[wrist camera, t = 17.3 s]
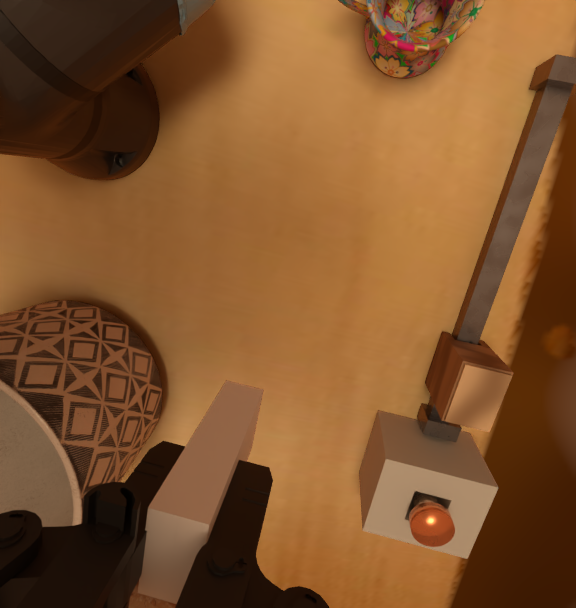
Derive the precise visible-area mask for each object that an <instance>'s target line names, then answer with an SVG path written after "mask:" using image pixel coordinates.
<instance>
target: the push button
mask: <svg viewBox="0 0 576 608" xmlns="http://www.w3.org/2000/svg"><path fill="white" fill-rule="evenodd" d="M412 498H413V502H414V508H413V509H412V510H411V512H410V514H409V523H410V528H411V533H412V535H413V537H414V538H415V540H416V541H418V542H419V543H421V544H423V545H425V546H429V547H438V546H442V545H445V544H447V543H448V542H450V541H451V540H452V538H453V537H454V534H455V526H454V523H453V520H452V517H451V514H450V512H449V511H448V510H447V509H446V508H445V507H444V506H442V505H440V504H438V501H437V498H436V496H433V495H429V494H425V493H421V492H417V491H415V492H414V494H413V497H412Z"/></svg>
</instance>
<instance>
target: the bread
mask: <svg viewBox="0 0 576 608" xmlns="http://www.w3.org/2000/svg"><path fill="white" fill-rule="evenodd" d="M138 586H139V580H138V582H137V584H136V586H135V588H134V590H133V592H132V594H131V596H130V601H129V608H175V607H176V604H174V603H171V602H167V601H164V600H161V599H157V598H154V597H150V596H147V595H143V594H140V593H138Z"/></svg>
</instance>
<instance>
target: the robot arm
mask: <svg viewBox="0 0 576 608" xmlns="http://www.w3.org/2000/svg"><path fill="white" fill-rule="evenodd" d="M215 1H216V0H0V154H5V155H14V156H24V157H34V158H45V159H47V160H48V161H50V162H52V163H53V164H55V165H57V166H58V167H60V168H62V169H63V170H65V171H67V172H69V173H71V174H73V175H76V176H79V177H82V178H87V179H95V180H112V179H117V178H121V177H124V176H126V175H128V174H130V173H132V172H133V171H135V170H136V169H137V168H138V167H139V166H140V165H141V164H142V163H143V162H144V161H145V160H146V158H147V157H148V156H149V154H150V152H151V150H152V148H153V146H154V144H155V141H156V137H157V133H158V127H159V107H158V101H157V97H156V93H155V90H154V87H153V85H152V82H151V80H150V78H149V76H148V74H147V73H146V71H145V70H144V68H143V67H142V66H141V64H140V63H141V62H142V61H144V60H145V59H146V58H148V57H149V56H150V55H152V54H153V53H154V52H156V51H157V50H158V49H160V48H161V47H162V46H164V45H165V44H166V43H167V42H169V41H170V40H171V39H173V38H174V37H175V36H177V35H178V34H179V35H180V36H182V35H184V34H185V33H186V31H187V28H188V26H190V25H191V24H192V23H193V22H194V21H196V20H197V19H198V18H199V17H200V16H201V15H203V14H204V13H205V12H206V11H207V10H209V9H210V8H211V7H212V5H213V4H214V3H215ZM262 395H263V389H259V388H255V387H251V386H247V385H243V384H239V383H235V382H231V381H227V380H226V382H225V383H224V385H223V387H222V388H221V390H220V392H219V393H218V395H217V396H216V398H215V400H214V401H213V403H212V405H211V406H210V408H209V409H208V411H207V413H206V414H205V416H204V418H203V419H202V421H201V422H200V424H199V426H198V427H197V429H196V430H195V432H194V434H193V435H192V437H191V439H190V440H189V442H188V443H187V445H186V447H185V446H181V445H177V444H173V443H170V442H166V441H162V442H161V443H159V444H158V445H156V446H154V447H153V448H151V449H150V450H149V451H148V452H147V454H146V455H145V456H144V458H143V459H142V460H141V463H139V464H138V466H137V467H136V468H135V470H134V472H132V474H131V475H130V476H129V478H128V479H127V481H126V482H125V483H122V482H110V483H104V484H101V485H99V486H97V487H94V488H92V489H91V490H90V491H89V492H88V493H86V494H85V495H84V506H83V522H82V524H78V525H73V526H58V527H42V521H41V518H40V517H39V516H38V515H37V514H36V513H34V512H31V511H28V510H12V511H8V512H5V513H1V514H0V608H129V601H130V596H131V594H132V592H133V590H134V588H135V586H136V584H137V582H138V580H139V586H138V593H140V594H143V595H147V596H150V597H154V598H157V599H161V600H164V601H167V602H171V603H174V604H176V607H175V608H329V606H328V605H327V603H326V602H325V601H324V600H323V598H322V597H321V596H320V595H319V594H317V593H316V592H314V591H313V590H311V589H308V588H304V587H300V586H298V587H292V588H288V589H286V590H285V591H283V590H281V589H280V588H278V587H277V586H275V585H274V584H273V583H271V582H270V581H269V580H268V579H267V578H266V577H265V576H264V575H263V573H262V572H261V571H260V568H259V566H258V564H257V559H256V550H257V546H258V542H259V538H260V533H261V529H262V525H263V521H264V517H265V512H266V508H267V504H268V500H269V495H270V491H271V487H272V482H273V479H272V476H271V472H270V469H269V467H265V466H261V465H257V464H254V463H250V462H247V460H248V457H249V454H250V451H251V448H252V443H253V439H254V434H255V429H256V424H257V419H258V414H259V409H260V405H261V400H262Z"/></svg>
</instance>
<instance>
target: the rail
mask: <svg viewBox="0 0 576 608" xmlns="http://www.w3.org/2000/svg"><path fill="white" fill-rule="evenodd" d="M529 89H530V90H535V91H536V94H535V97H534V100H533V103H532V106H531V109H530V112H529V114H528V117H527V120H526V123H525V126H524V129H523V132H522V135H521V138H520V140H519V143H518V146H517V149H516V152H515V155H514V158H513V161H512V163H511V166H510V169H509V172H508V175H507V178H506V181H505V184H504V187H503V189H502V192H501V195H500V198H499V201H498V204H497V207H496V210H495V212H494V215H493V218H492V221H491V224H490V227H489V230H488V233H487V236H486V238H485V241H484V244H483V247H482V250H481V253H480V256H479V259H478V261H477V264H476V267H475V270H474V273H473V276H472V279H471V282H470V285H469V287H468V290H467V293H466V296H465V299H464V302H463V305H462V308H461V310H460V313H459V316H458V319H457V322H456V325H455V328H454V331H453V334H452V337H453V338H454V340H459V341H463V342H467V343H471V344H476V345H478V342H479V339H480V337H481V334H482V331H483V328H484V326H485V323H486V320H487V318H488V315H489V312H490V309H491V307H492V304H493V301H494V299H495V296H496V293H497V291H498V288H499V285H500V282H501V280H502V277H503V274H504V272H505V269H506V266H507V264H508V261H509V258H510V255H511V253H512V250H513V247H514V245H515V242H516V239H517V237H518V234H519V231H520V228H521V226H522V223H523V220H524V218H525V215H526V212H527V210H528V207H529V204H530V201H531V199H532V196H533V193H534V191H535V188H536V185H537V182H538V180H539V177H540V174H541V172H542V169H543V166H544V164H545V161H546V158H547V155H548V153H549V150H550V147H551V145H552V142H553V139H554V137H555V134H556V131H557V128H558V126H559V123H560V120H561V118H562V115H563V112H564V110H565V107H566V104H567V101H568V99H569V96H572V95H574V94H576V58H573V57H567V56H562V55H555V56H553V57H552V58H550V59H549V60H547V61H546V62H544V63H542V64H541V65H539V66H538V67H536V70H535V72H534V75H533V78H532V81H531V84H530V87H529ZM417 418H418V421H419V424H420V427H421V430H422V433H423V434H424V435H428V436H432V437H436V438H440V439H444V440H448V441H452V442H457V439H458V436H459V434H460V431H461V429H462V428H461V426H460V425H458V424H454V423H450V422H446V421H442V420H441V418H440V416H439V414H438V411H437V409H436V407H435V404H434V402H433V400H432V397H430V400H429V403H428V405H427V404H423V403H422V404H421V406H420V409H419V412H418V415H417Z"/></svg>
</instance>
